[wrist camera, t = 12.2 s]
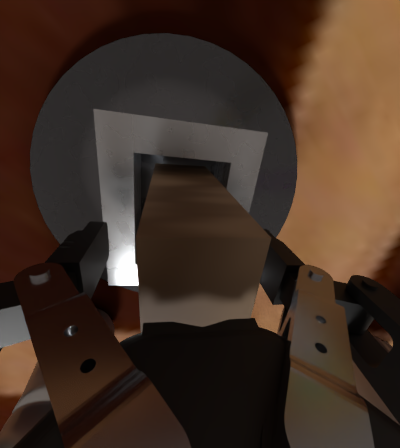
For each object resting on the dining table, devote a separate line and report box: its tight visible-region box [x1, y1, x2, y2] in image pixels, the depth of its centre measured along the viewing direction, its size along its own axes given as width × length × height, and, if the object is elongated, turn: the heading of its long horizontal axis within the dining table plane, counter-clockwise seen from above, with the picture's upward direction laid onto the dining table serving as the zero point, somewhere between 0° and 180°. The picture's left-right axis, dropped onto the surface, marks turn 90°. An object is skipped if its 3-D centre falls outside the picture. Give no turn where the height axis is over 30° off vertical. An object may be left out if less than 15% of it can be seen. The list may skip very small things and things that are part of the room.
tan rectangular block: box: [136, 163, 271, 333], centre depth 13 cm, size 4×6×12 cm, turn 175°
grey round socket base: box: [30, 33, 297, 292], centre depth 17 cm, size 22×22×6 cm
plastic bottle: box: [0, 308, 114, 448], centre depth 15 cm, size 6×7×20 cm
